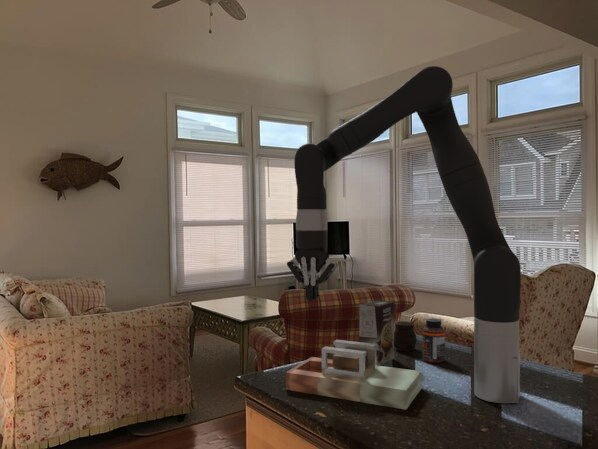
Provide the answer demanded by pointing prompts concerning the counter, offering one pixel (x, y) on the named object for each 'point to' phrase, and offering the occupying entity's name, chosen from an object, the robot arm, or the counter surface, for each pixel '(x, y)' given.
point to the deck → (357, 384)
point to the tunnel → (351, 350)
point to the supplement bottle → (433, 341)
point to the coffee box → (378, 328)
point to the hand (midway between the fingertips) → (311, 300)
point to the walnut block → (346, 362)
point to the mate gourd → (404, 336)
